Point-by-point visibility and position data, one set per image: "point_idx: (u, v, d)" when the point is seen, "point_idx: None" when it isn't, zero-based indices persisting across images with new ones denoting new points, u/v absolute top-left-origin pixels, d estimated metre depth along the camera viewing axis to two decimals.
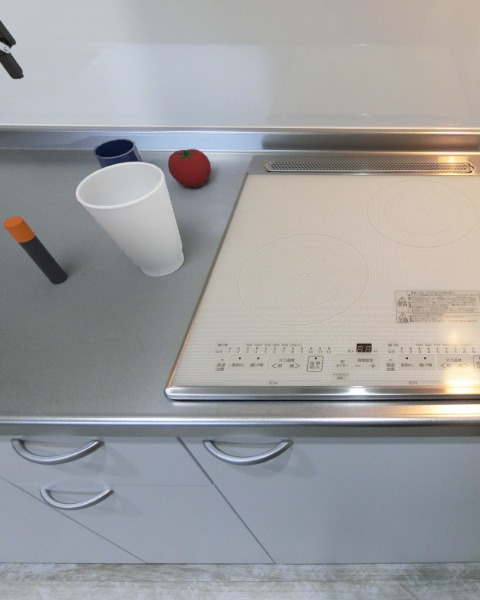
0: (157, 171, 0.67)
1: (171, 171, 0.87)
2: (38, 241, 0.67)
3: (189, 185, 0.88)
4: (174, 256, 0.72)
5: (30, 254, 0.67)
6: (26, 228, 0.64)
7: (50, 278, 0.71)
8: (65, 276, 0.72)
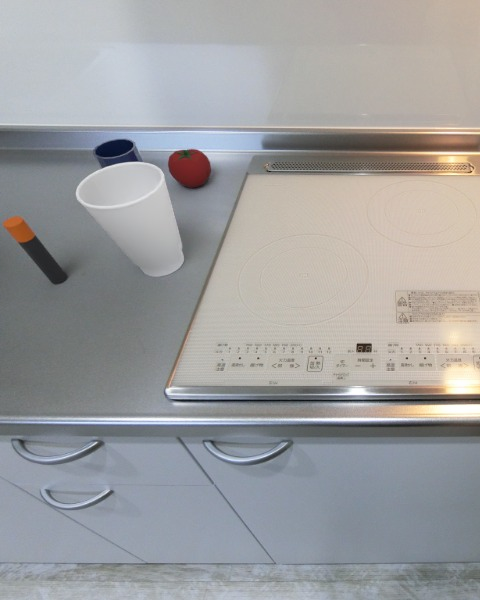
0: (157, 171, 0.67)
1: (171, 171, 0.87)
2: (38, 241, 0.67)
3: (189, 185, 0.88)
4: (174, 256, 0.72)
5: (30, 254, 0.67)
6: (26, 228, 0.64)
7: (50, 278, 0.71)
8: (65, 276, 0.72)
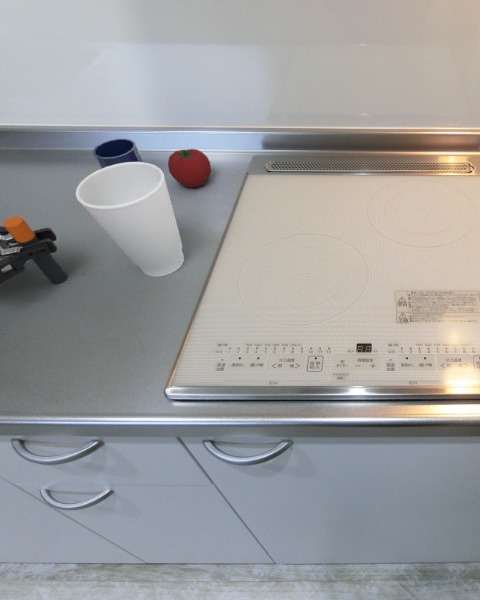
0: (157, 171, 0.67)
1: (171, 171, 0.87)
2: None
3: (189, 185, 0.88)
4: (174, 256, 0.72)
5: None
6: (26, 228, 0.64)
7: (50, 278, 0.71)
8: (65, 276, 0.72)
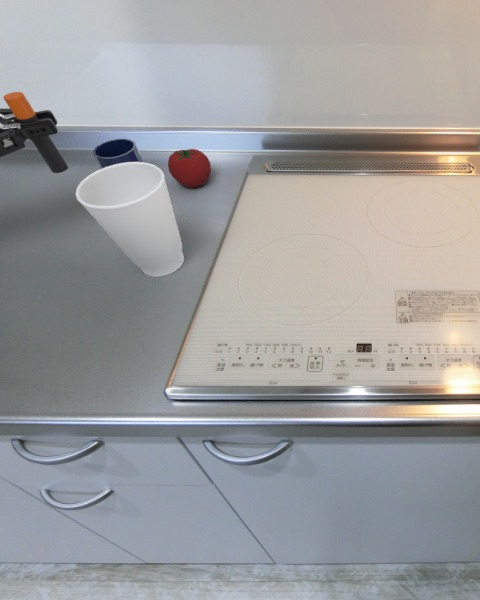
0: (157, 171, 0.67)
1: (171, 171, 0.87)
2: None
3: (189, 185, 0.88)
4: (174, 256, 0.72)
5: None
6: (27, 104, 0.64)
7: (51, 165, 0.70)
8: (66, 166, 0.72)
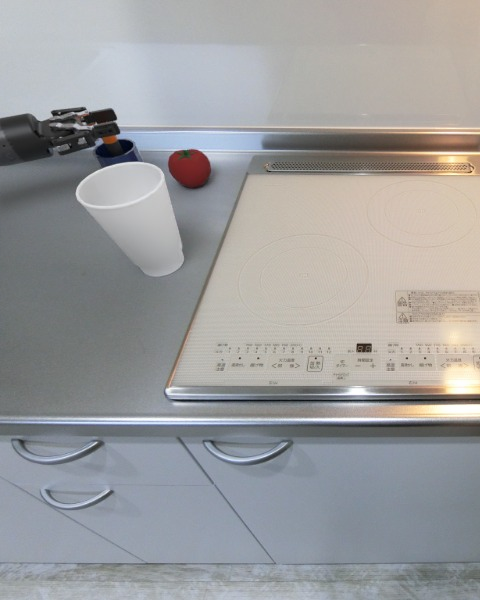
0: (157, 171, 0.67)
1: (171, 171, 0.87)
2: (119, 145, 0.85)
3: (189, 185, 0.88)
4: (174, 256, 0.72)
5: (113, 155, 0.85)
6: None
7: None
8: None
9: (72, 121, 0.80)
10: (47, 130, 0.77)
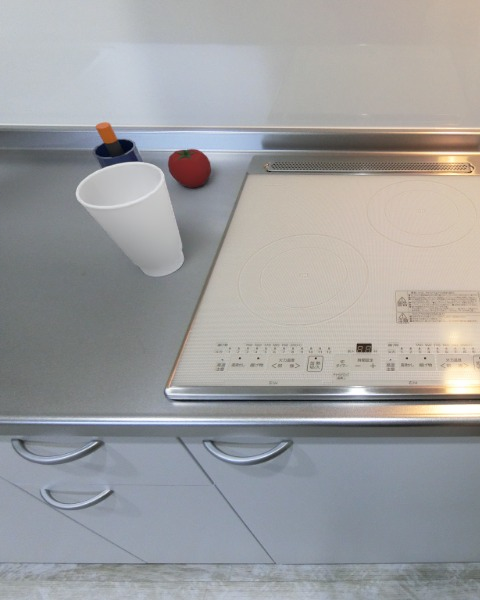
0: (157, 171, 0.67)
1: (171, 171, 0.87)
2: (119, 144, 0.85)
3: (189, 185, 0.88)
4: (174, 256, 0.72)
5: (113, 154, 0.85)
6: (112, 132, 0.83)
7: None
8: None
9: None
10: None
